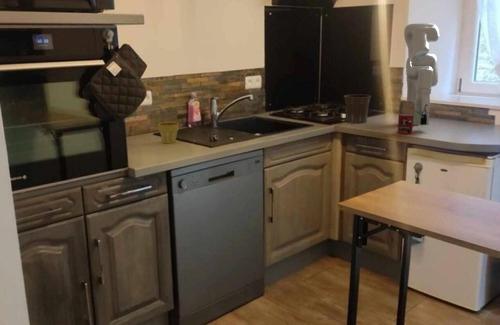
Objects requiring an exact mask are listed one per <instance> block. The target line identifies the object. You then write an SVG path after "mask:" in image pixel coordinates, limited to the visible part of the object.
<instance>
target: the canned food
mask: <svg viewBox="0 0 500 325" xmlns="http://www.w3.org/2000/svg"><path fill="white" fill-rule="evenodd" d="M413 116H414V114H401V113H399V112H398V119H397V120H398V121H397V134H399V135H404V136H405V135H408V136H409V135H412V134H413V128H414V127H413V126H414V125H413Z"/></svg>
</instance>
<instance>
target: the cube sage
mask: <svg viewBox="0 0 500 325" xmlns="http://www.w3.org/2000/svg"><path fill="white" fill-rule="evenodd" d="M423 115H424V113H423ZM421 117H422V113H421V112H419V113H414V124H416V125H415V126H422V125H421ZM429 120H430V113H428V116H427V124H426V125H425V126H429V122H430V121H429Z"/></svg>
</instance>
